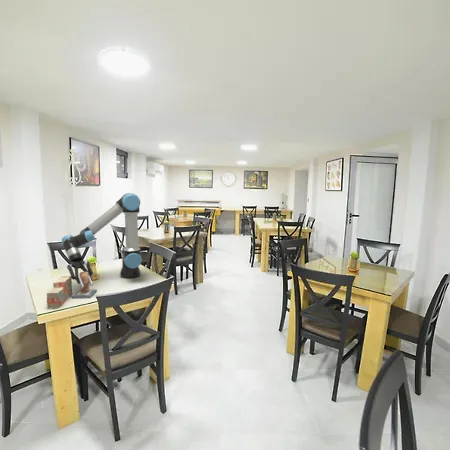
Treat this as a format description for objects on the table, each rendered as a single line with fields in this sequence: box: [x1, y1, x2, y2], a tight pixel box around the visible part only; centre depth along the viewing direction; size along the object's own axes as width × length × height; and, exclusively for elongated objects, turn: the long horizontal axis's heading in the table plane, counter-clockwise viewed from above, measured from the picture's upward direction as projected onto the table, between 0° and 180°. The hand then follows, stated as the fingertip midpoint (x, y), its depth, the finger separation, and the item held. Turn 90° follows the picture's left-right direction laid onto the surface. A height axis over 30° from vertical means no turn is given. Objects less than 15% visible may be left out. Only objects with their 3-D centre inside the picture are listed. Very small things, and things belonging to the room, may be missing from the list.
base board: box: [71, 289, 98, 300], centre depth 175 cm, size 11×11×2 cm
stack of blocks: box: [46, 275, 73, 309], centre depth 165 cm, size 21×6×12 cm, turn 11°
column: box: [78, 271, 90, 292], centre depth 174 cm, size 5×5×12 cm
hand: (87, 286), depth 172 cm, fingers closed on column, 5 cm apart
